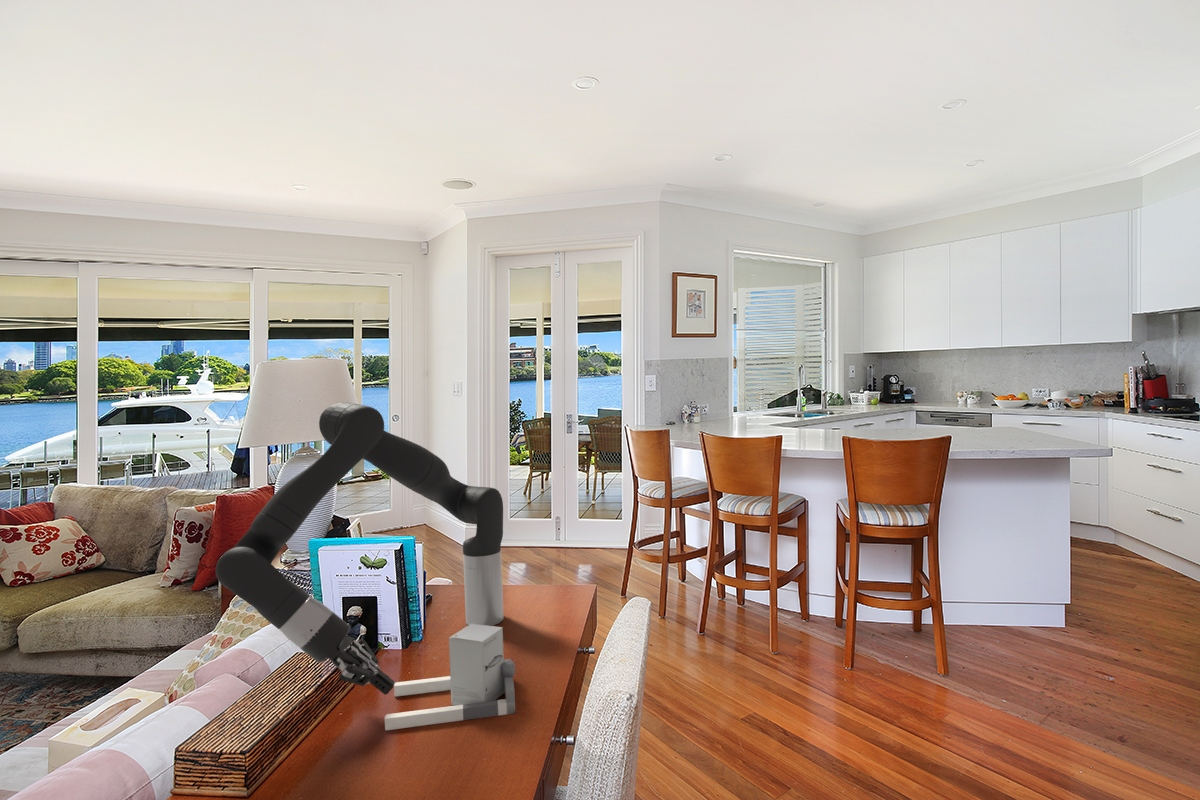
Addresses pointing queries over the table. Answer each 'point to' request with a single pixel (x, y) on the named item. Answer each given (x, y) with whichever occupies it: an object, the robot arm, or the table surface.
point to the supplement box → (476, 664)
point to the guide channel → (451, 711)
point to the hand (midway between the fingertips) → (390, 688)
